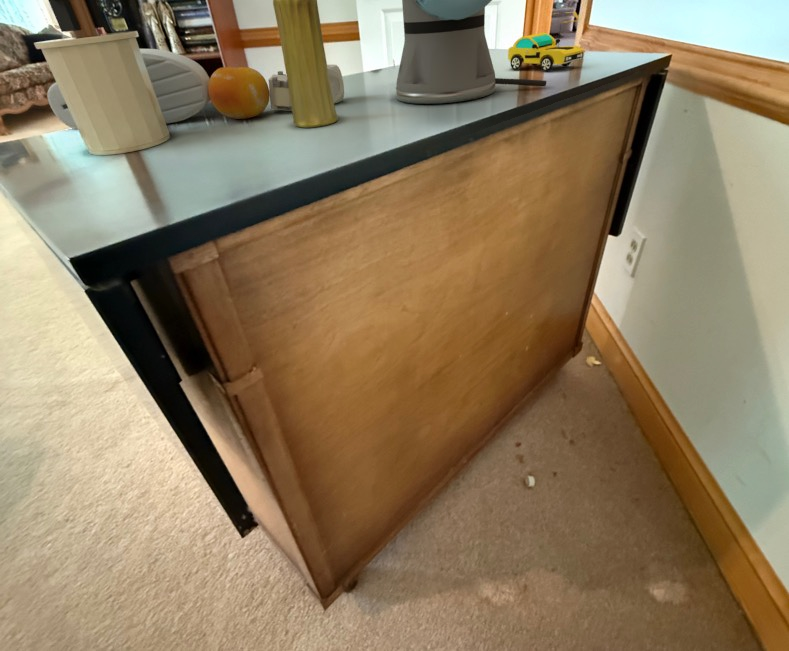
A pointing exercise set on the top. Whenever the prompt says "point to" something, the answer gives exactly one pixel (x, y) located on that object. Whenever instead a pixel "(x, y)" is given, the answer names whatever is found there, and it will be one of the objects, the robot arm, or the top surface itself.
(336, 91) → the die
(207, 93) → the boat shoe
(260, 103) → the fruit
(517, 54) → the toy car
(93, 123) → the pot
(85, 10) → the lid
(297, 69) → the vase
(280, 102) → the transformer
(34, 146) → the top surface
